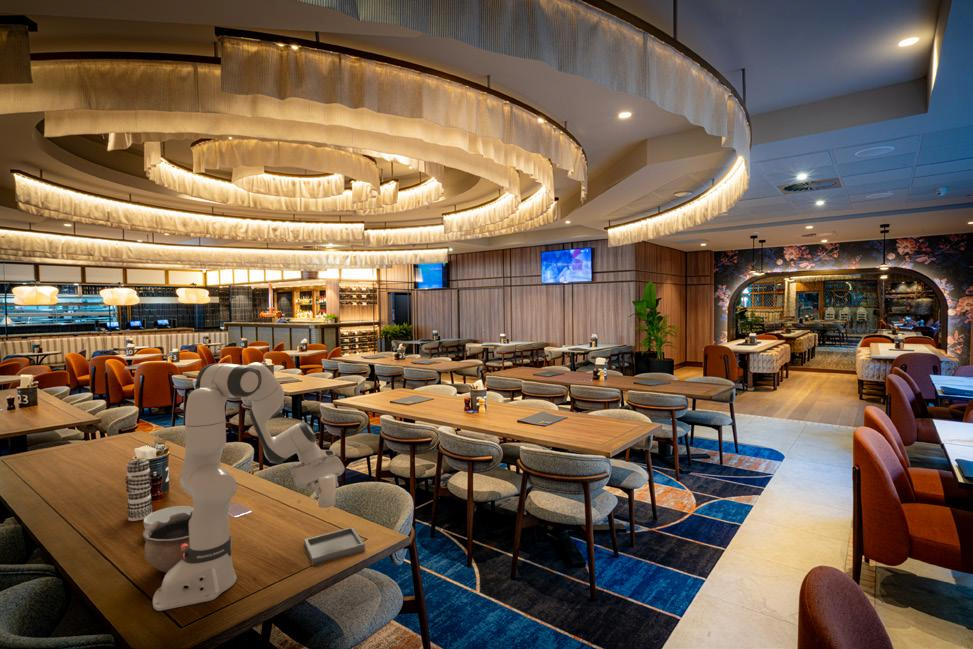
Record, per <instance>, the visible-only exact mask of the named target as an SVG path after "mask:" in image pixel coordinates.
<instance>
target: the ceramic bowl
mask: <svg viewBox="0 0 973 649" xmlns="http://www.w3.org/2000/svg"><path fill="white" fill-rule="evenodd" d="M192 512H193V511H192ZM192 512H191V513H190V515H189V514H187V513H179V514H176V515H172V516H170V520H169V521H168V522H164V523H163V522H160V521H156V522H154V523H152V524H151V525H149V526H148V527H147V528H146V529H145V528H144V530H143V532H142V537H143V539H144V541H145V544H144V550H143V551H144V557H145V560H147V562H148V563H149V564H150V565H151V566H152V567H153V568H154V569H157V570H159V571H160V572H163V573H167V572H168V571H169V570H170V569H171V568H173V567H174V566H175V565H176V564H177V563H178V562H179V561H181V560H182V551H181V546H182V545H183V544H187V545H189V520H190V519H191V517H192Z"/></svg>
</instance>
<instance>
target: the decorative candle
mask: <svg viewBox="0 0 973 649" xmlns="http://www.w3.org/2000/svg"><path fill="white" fill-rule="evenodd" d="M125 466H126V469H127V470H126V471H127V472H126V476H125V484H126V485H125V487H126V494H128V495H127V496H128V499H127V504H126V505H127V509H128V510H127V517H128V518H127V520H128V521H131V522H134V521H141V520H144V518H145V517H146V516H148V515H149V514H151V513H153V505H152V503H153V501H152V499H153V498H152V496H151V495H152V494H151V488H152V485H150V484H151V483H152V482H153V481H152V476H151V475H152V474H153V473H152V469H151V468H150V460H149V459H147V458H146V457H138V458H132V459H131V460H129V462H128V463H126V464H125Z"/></svg>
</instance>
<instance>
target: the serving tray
mask: <svg viewBox="0 0 973 649" xmlns="http://www.w3.org/2000/svg"><path fill="white" fill-rule="evenodd" d="M303 543H304V548H305V550H306V552H307V555H308V558H309V559H310V562H311V565H312V564H313V565H314V566H317V565H320V564H325V563H326V562H330V561H335V560H338V559H340V558H344V557H347V556H351V555H354V554H359V553H362V552H365V551H366V547H365V545H366V544H365V542H364V541H363V539H362V538H361V537H360V535H359V533H358V532H357V531H356V529H355V528H354V527H353V526H351V527H347V528H343V529H338V530H334V531H331V532H328V533H324V534H320V535H316V536H312V537H308V538H304V542H303ZM313 565H312V566H313Z"/></svg>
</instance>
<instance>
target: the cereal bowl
mask: <svg viewBox="0 0 973 649" xmlns="http://www.w3.org/2000/svg"><path fill="white" fill-rule="evenodd" d="M192 511H193V507H191V506H189V505H176V506H170V507H165V508H161V509H159V510H156V511H152V513H151V514H149V515H148V516H146V517H145V518H144V519H143V527H144V530H145V529H146V528H147V527H148V526H149V525H151V524H152V523H154V522H156V521H160V522H163V523H164V522H168V521H169V520H170V516H172V515H176V514H179V513H187V514H189V515H190V513H191V512H192Z"/></svg>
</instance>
